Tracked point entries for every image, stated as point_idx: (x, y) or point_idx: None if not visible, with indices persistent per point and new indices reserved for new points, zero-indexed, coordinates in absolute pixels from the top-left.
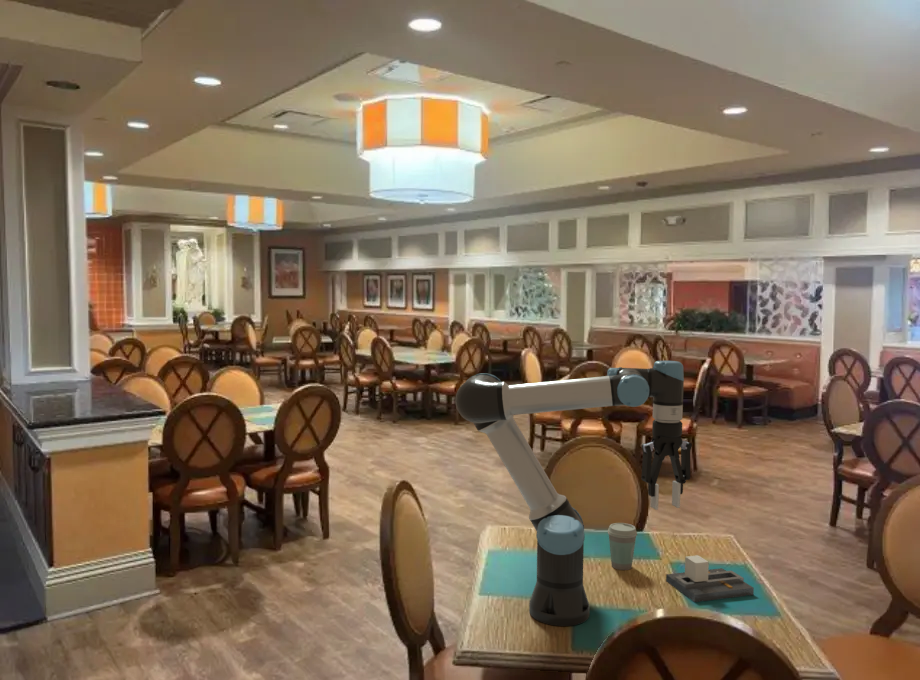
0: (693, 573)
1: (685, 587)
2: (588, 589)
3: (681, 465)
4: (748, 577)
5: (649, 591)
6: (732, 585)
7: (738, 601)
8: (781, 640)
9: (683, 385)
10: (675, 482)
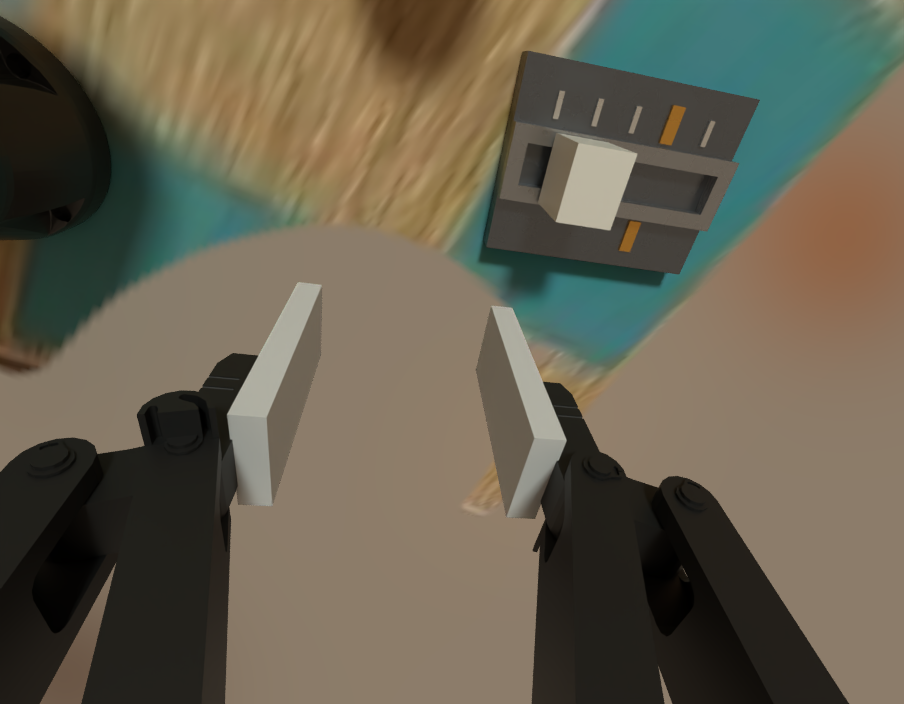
0: (547, 197)
1: (497, 195)
2: None
3: (734, 650)
4: (790, 157)
5: (404, 107)
6: (643, 238)
7: (596, 281)
8: None
9: None
10: (517, 482)
